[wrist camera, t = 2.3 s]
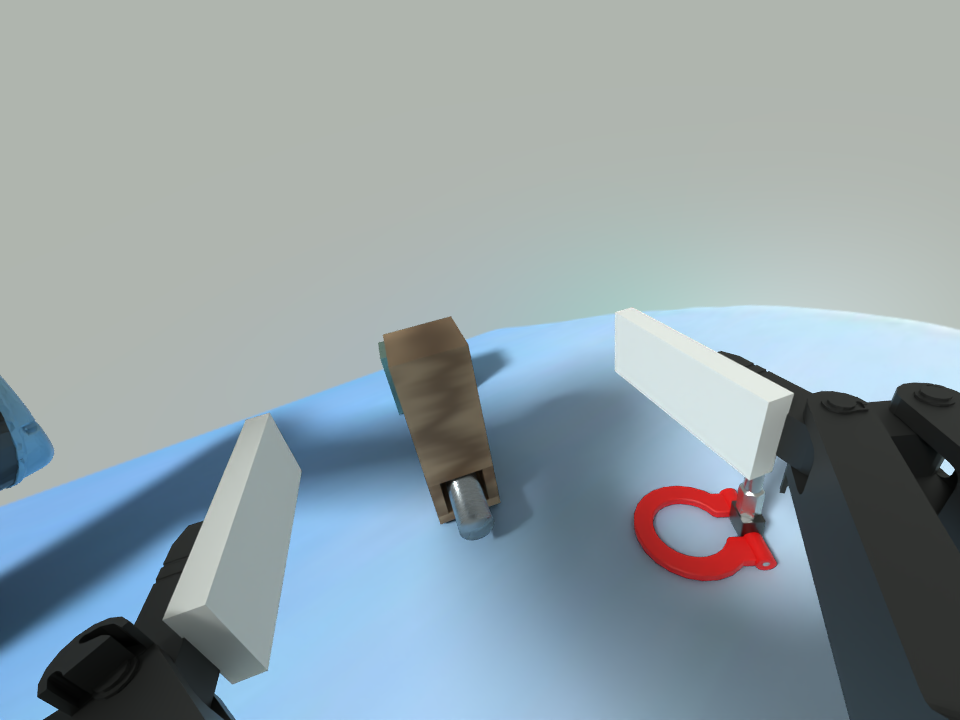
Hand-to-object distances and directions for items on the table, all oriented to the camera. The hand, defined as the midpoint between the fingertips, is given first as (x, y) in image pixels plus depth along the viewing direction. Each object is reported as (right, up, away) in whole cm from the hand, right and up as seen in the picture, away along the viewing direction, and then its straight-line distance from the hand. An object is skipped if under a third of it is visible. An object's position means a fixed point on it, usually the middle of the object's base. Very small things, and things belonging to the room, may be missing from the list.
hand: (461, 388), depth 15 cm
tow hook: (+19, -14, +18) cm, 29 cm away
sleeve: (-1, -13, +25) cm, 28 cm away
